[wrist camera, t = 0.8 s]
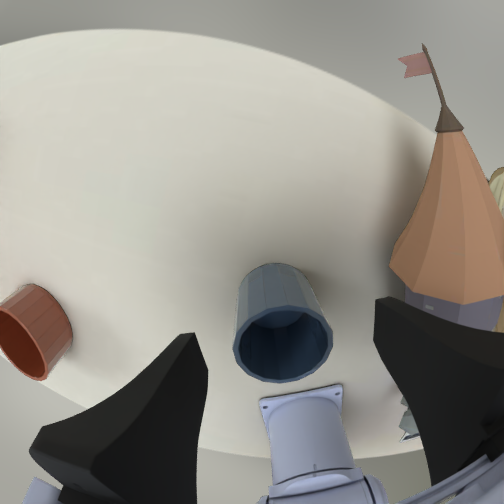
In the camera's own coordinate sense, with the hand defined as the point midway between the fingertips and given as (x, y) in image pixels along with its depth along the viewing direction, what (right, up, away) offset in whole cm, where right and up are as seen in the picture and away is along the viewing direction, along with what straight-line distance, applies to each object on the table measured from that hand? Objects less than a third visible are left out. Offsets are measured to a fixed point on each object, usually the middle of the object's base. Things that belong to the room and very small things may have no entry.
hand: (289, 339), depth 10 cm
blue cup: (0, 0, +10) cm, 10 cm away
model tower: (+17, -12, +9) cm, 23 cm away
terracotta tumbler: (-22, -3, +10) cm, 25 cm away
